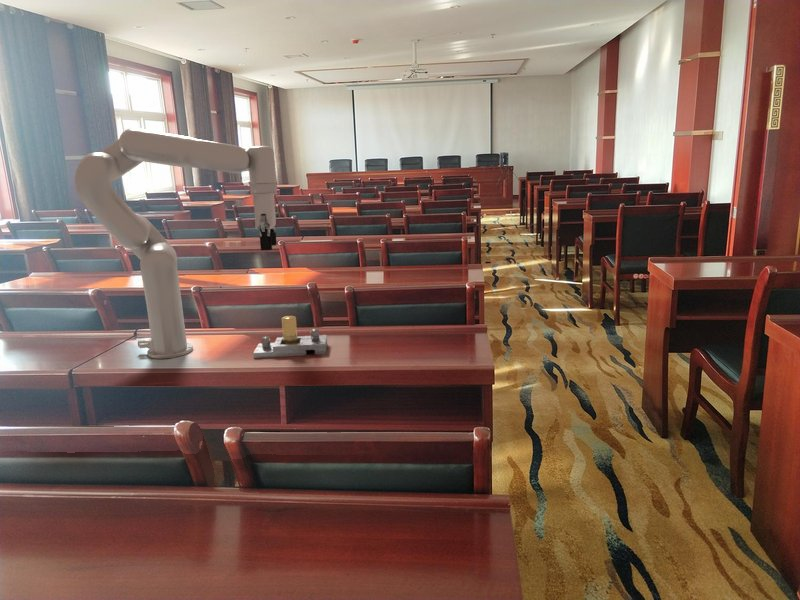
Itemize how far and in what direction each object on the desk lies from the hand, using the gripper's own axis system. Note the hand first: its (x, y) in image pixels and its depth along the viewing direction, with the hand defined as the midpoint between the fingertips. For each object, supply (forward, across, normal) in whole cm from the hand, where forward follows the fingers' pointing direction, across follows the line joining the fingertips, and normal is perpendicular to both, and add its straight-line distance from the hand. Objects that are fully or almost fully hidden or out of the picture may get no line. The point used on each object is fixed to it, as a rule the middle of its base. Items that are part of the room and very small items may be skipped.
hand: (269, 247), depth 180 cm
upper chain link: (+28, +14, +9) cm, 33 cm away
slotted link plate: (+28, +14, +3) cm, 32 cm away
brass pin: (+28, +14, +6) cm, 32 cm away
